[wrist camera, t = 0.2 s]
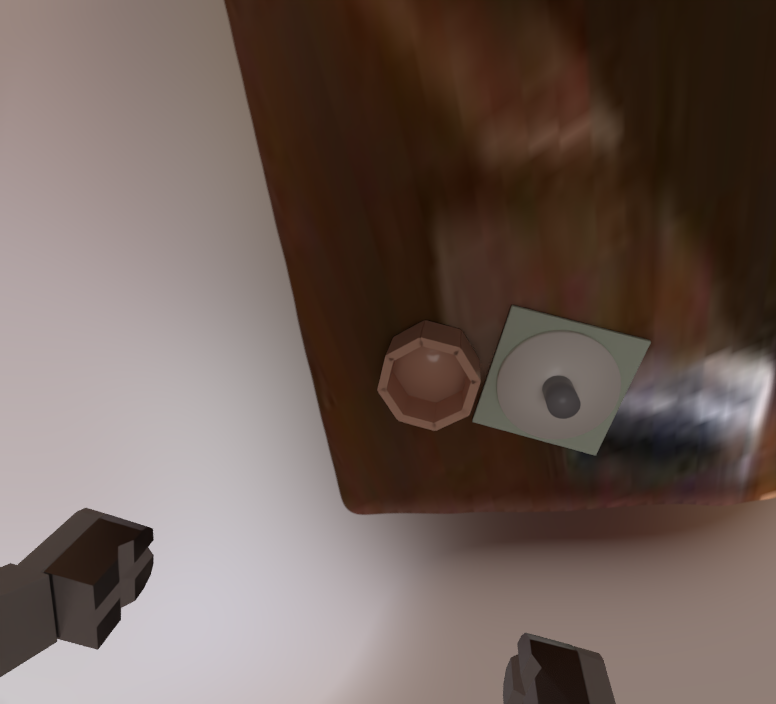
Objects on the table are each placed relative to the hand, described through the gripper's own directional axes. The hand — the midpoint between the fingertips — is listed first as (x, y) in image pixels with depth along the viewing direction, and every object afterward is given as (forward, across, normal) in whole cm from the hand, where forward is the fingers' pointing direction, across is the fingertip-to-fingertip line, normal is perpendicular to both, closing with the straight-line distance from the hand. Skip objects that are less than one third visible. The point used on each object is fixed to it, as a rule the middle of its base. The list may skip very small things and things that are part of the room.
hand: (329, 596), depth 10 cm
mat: (+47, -18, +13) cm, 52 cm away
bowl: (+47, -2, +15) cm, 50 cm away
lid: (+47, -18, +13) cm, 52 cm away
